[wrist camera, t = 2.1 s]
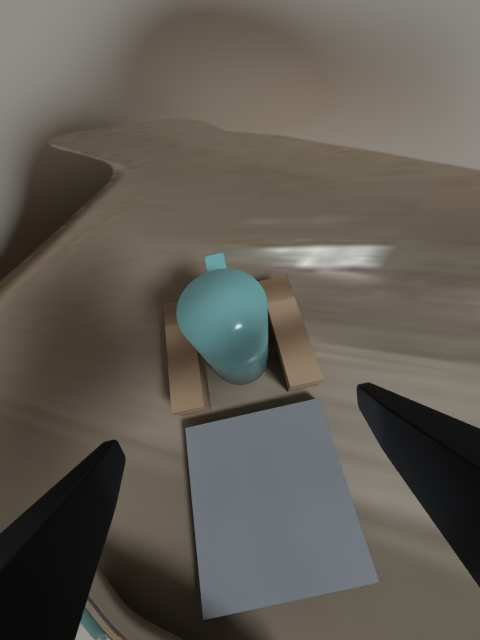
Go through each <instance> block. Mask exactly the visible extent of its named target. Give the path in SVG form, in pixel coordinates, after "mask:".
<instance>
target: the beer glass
mask: <svg viewBox="0 0 480 640" xmlns="http://www.w3.org/2000/svg"><path fill="white" fill-rule="evenodd" d="M75 640H184V639H182V638H180V637H178V636H176V635H174V634H172V633H169V632H167V631H165V630H163V629H161V628H159V627H158V626H156V625H154V624H152V623H150V622H148V621H147V620H145V619H143V618H142V617H141V616H139V615H138V614H137V613H135V612H134V611H133V610H131V609H130V608H129V607H128V606H127V605H126V604H125V603H124V602H123V601H122V599H121V598H120V597H119V595H118V594H117V593H116V591H115V590H114V588H113V587H112V585H111V584H110V582H109V581H108V579H107V578H106V576H105V575H104V573H103V572H102V571H101V569H100V568H99V567H97V570H96V573H95V577H94V580H93V583H92V586H91V590H90V593H89V596H88V599H87V603H86V606H85V609H84V612H83V615H82V619H81V622H80V625H79V628H78V632H77V635H76V638H75Z"/></svg>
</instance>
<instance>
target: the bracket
mask: <svg viewBox="0 0 480 640" xmlns="http://www.w3.org/2000/svg"><path fill="white" fill-rule="evenodd" d="M258 282H259V283H260V285H261V286H262V288H263V290H264V291H265V294H266V297H267V304H268V322H269V326H270V329H271V333H272V336H273V340H274V343H275V347H276V351H277V354H278V358H279V361H280V365H281V368H282V372H283V376H284V379H285V383H286V386H287V390H288V392H289V391H293V390H298V389H302V388H306V387H311V386H315V385H318V384H319V383H320V382H321V381H322V380H323V377H322V374H321V371H320V368H319V365H318V362H317V359H316V357H315V354H314V351H313V348H312V345H311V342H310V339H309V337H308V334H307V331H306V328H305V325H304V322H303V319H302V317H301V314H300V311H299V308H298V305H297V302H296V299H295V297H294V294H293V291H292V288H291V285H290V282H289V279H288V277H287V275H284V276H279V277H275V278H271V279H266V280H262V281H258ZM178 301H179V300H176V301H172V302H168V303H163V305H164V319H165V332H166V346H167V360H168V374H169V388H170V401H171V414H176V415H181V416H183V415H187V414H191V413H196V412H200V411H205V410H209V409H211V405H210V398H209V391H208V384H207V376H206V369H205V362H204V358H203V357H202V355H201V354H200V353H199V352H198V351H197V350H196V349H195V347H194V346H193V345H192V344H191V343H190V342H189V341H188V339H187V338H186V337H185V336H184V335H183V333H182V332H181V330H180V328H179V325H178V322H177V316H176V311H177V304H178Z"/></svg>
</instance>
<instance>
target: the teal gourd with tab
mask: <svg viewBox="0 0 480 640" xmlns="http://www.w3.org/2000/svg"><path fill="white" fill-rule="evenodd" d="M205 261H206V266H207V273H204V274H202V275H200V276H199V277H197V278H196V279H194V280H193V281H192V282H191V283H190V284H189V285H188V286H187V287H186V288H185V289H184V291H183V292H182V294H181V296H180V298H179V301H178V304H177V311H176V316H177V322H178V325H179V328H180V330H181V332H182V333H183V335H184V336H185V337H186V338H187V339H188V341H189V342H190V343H191V344H192V345H193V346H194V347H195V349H196V350H197V351H198V352H199V353H200V354H201V355H202V357H203V358H204V359H205V360H206V361H207V362H208V363H209V365H210V366H211V367H212V368H213V369H214V370H215V371H216V373H217V374H218V375H219V376H220V377H221V378H222V379H223V380H225V381H226V382H228V383H231V384H235V385H245V384H249V383H251V382H253V381H255V380H257V379H258V378H259V377H260V376H261V375H262V374H263V372H264V371H265V369H266V367H267V364H268V304H267V297H266V294H265V291H264V290H263V288H262V286H261V285H260V283H259V282H258V281H257V280H256V279H255V278H253V277H252V276H251V275H249V274H247V273H245V272H242V271H239V270H235V269H227V266H226V262H225V258H224V254H223V253H220V254H216V255H211V256H207V257H205Z"/></svg>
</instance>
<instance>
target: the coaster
mask: <svg viewBox="0 0 480 640" xmlns="http://www.w3.org/2000/svg"><path fill="white" fill-rule="evenodd" d="M185 431H186V442H187V453H188V464H189V474H190V485H191V496H192V506H193V517H194V528H195V538H196V549H197V560H198V570H199V581H200V592H201V602H202V613H203V620H207V619H211V618H216V617H221V616H225V615H230V614H235V613H239V612H244V611H248V610H253V609H258V608H262V607H267V606H272V605H276V604H281V603H286V602H290V601H295V600H300V599H304V598H309V597H314V596H318V595H323V594H328V593H332V592H337V591H342V590H346V589H351V588H356V587H360V586H365V585H370V584H374V583H379V580H378V577H377V574H376V571H375V568H374V565H373V562H372V559H371V556H370V553H369V550H368V547H367V544H366V541H365V538H364V535H363V532H362V529H361V526H360V523H359V520H358V517H357V514H356V511H355V507H354V504H353V501H352V498H351V495H350V492H349V489H348V486H347V483H346V480H345V477H344V474H343V471H342V468H341V465H340V462H339V459H338V456H337V453H336V450H335V447H334V444H333V441H332V438H331V435H330V432H329V429H328V426H327V423H326V420H325V417H324V414H323V410H322V407H321V404H320V401H319V398H316V399H312V400H308V401H303V402H299V403H294V404H290V405H285V406H281V407H276V408H272V409H268V410H263V411H259V412H254V413H250V414H245V415H241V416H237V417H232V418H228V419H223V420H219V421H214V422H210V423H205V424H201V425H197V426H192V427H188V428H185Z"/></svg>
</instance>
